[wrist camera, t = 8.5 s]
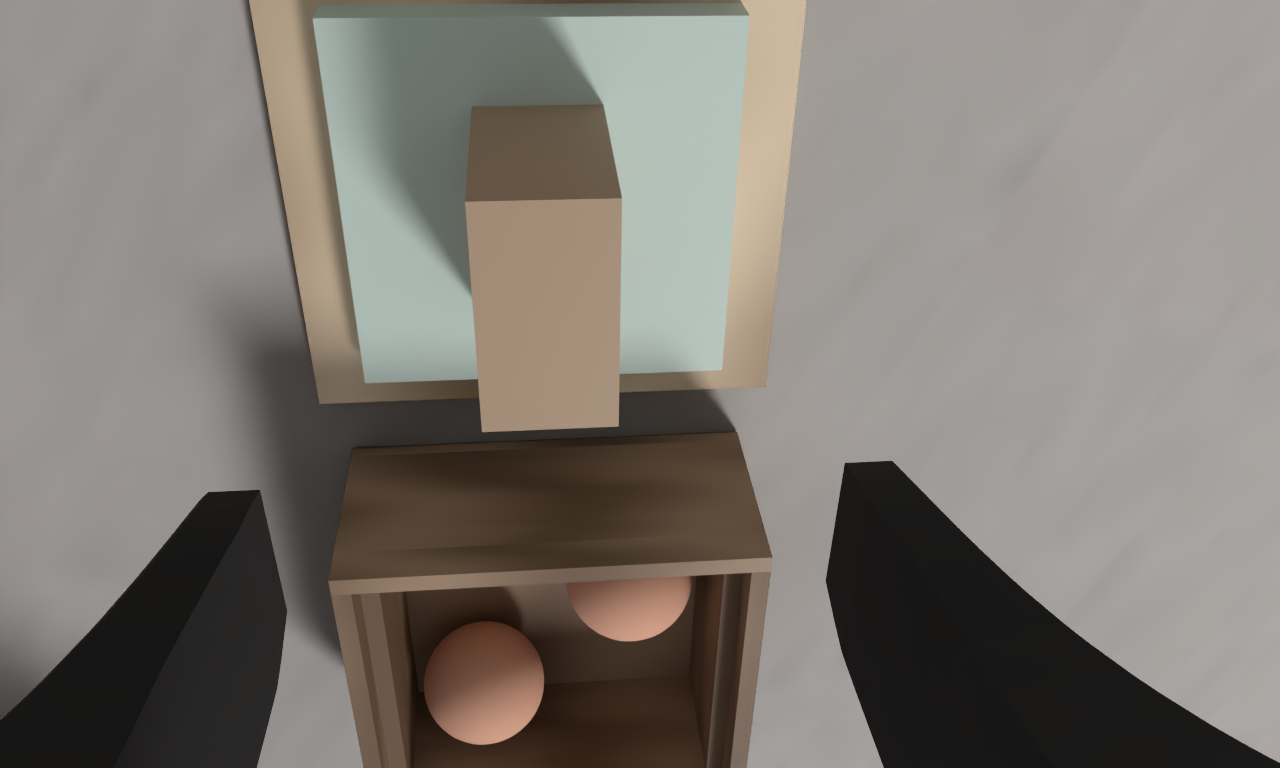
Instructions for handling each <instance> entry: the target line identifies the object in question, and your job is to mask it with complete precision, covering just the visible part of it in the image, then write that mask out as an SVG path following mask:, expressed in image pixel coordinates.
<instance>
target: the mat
mask: <svg viewBox="0 0 1280 768" xmlns="http://www.w3.org/2000/svg"><path fill="white" fill-rule="evenodd" d="M806 1H807V0H249V3H250V9H251V15H252V20H253V26H254V32H255V38H256V43H257V49H258V55H259V60H260V66H261V72H262V78H263V83H264V89H265V95H266V101H267V106H268V112H269V118H270V123H271V129H272V135H273V141H274V146H275V152H276V158H277V164H278V169H279V175H280V181H281V186H282V192H283V198H284V204H285V209H286V215H287V221H288V227H289V232H290V238H291V244H292V249H293V255H294V261H295V267H296V272H297V278H298V284H299V290H300V295H301V301H302V307H303V313H304V318H305V324H306V330H307V335H308V341H309V347H310V353H311V358H312V364H313V370H314V376H315V381H316V387H317V393H318V398H319V404H333V403H359V402H385V401H411V400H437V399H463V398H479V386H478V379H468V380H441V381H414V382H386V383H365V379H364V372H363V365H362V358H361V351H360V344H359V337H358V331H357V324H356V317H355V310H354V303H353V296H352V289H351V282H350V275H349V268H348V261H347V254H346V247H345V240H344V233H343V226H342V219H341V212H340V205H339V198H338V191H337V185H336V178H335V171H334V164H333V157H332V150H331V143H330V136H329V129H328V122H327V115H326V108H325V101H324V94H323V87H322V80H321V73H320V66H319V59H318V52H317V45H316V39H315V32H314V25H313V17H314V14H315V12H316V10H317V8H318V6H319V5H401V4H591V3H742V4H743V5H744V7H745V9H746V10H747V12H748V14H749V15H750V19H749V32H748V44H747V57H746V70H745V83H744V96H743V108H742V121H741V134H740V147H739V159H738V172H737V185H736V198H735V211H734V223H733V236H732V249H731V262H730V275H729V287H728V300H727V313H726V326H725V339H724V351H723V364H722V370H712V371H685V372H658V373H631V374H619V392H645V391H671V390H697V389H723V388H749V387H766V378H767V369H768V359H769V350H770V340H771V331H772V321H773V312H774V303H775V293H776V284H777V274H778V265H779V256H780V246H781V237H782V227H783V218H784V208H785V199H786V190H787V180H788V171H789V161H790V152H791V143H792V133H793V124H794V114H795V105H796V95H797V86H798V77H799V67H800V58H801V48H802V39H803V30H804V20H805V11H806Z"/></svg>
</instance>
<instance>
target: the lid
mask: <svg viewBox="0 0 1280 768" xmlns="http://www.w3.org/2000/svg"><path fill="white" fill-rule="evenodd" d="M749 19H750V15H749V14H748V12H747V10H746V9H745V7H744V5H743V4H742V3H591V4H401V5H319V6H318V8H317V10H316V12H315V14H314V17H313V25H314V32H315V39H316V45H317V52H318V59H319V66H320V73H321V80H322V87H323V94H324V101H325V108H326V115H327V122H328V129H329V136H330V143H331V150H332V157H333V164H334V171H335V178H336V185H337V191H338V198H339V205H340V212H341V219H342V226H343V233H344V240H345V247H346V254H347V261H348V268H349V275H350V282H351V289H352V296H353V303H354V310H355V317H356V324H357V331H358V337H359V344H360V351H361V358H362V365H363V372H364V379H365V383H386V382H414V381H441V380H468V379H478V386H479V400H480V413H481V427H482V432H499V431H523V430H547V429H572V428H596V427H619V374H631V373H658V372H685V371H712V370H722V364H723V351H724V339H725V326H726V313H727V300H728V287H729V275H730V262H731V249H732V236H733V223H734V211H735V198H736V185H737V172H738V159H739V147H740V134H741V121H742V108H743V96H744V83H745V70H746V57H747V44H748V32H749Z"/></svg>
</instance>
